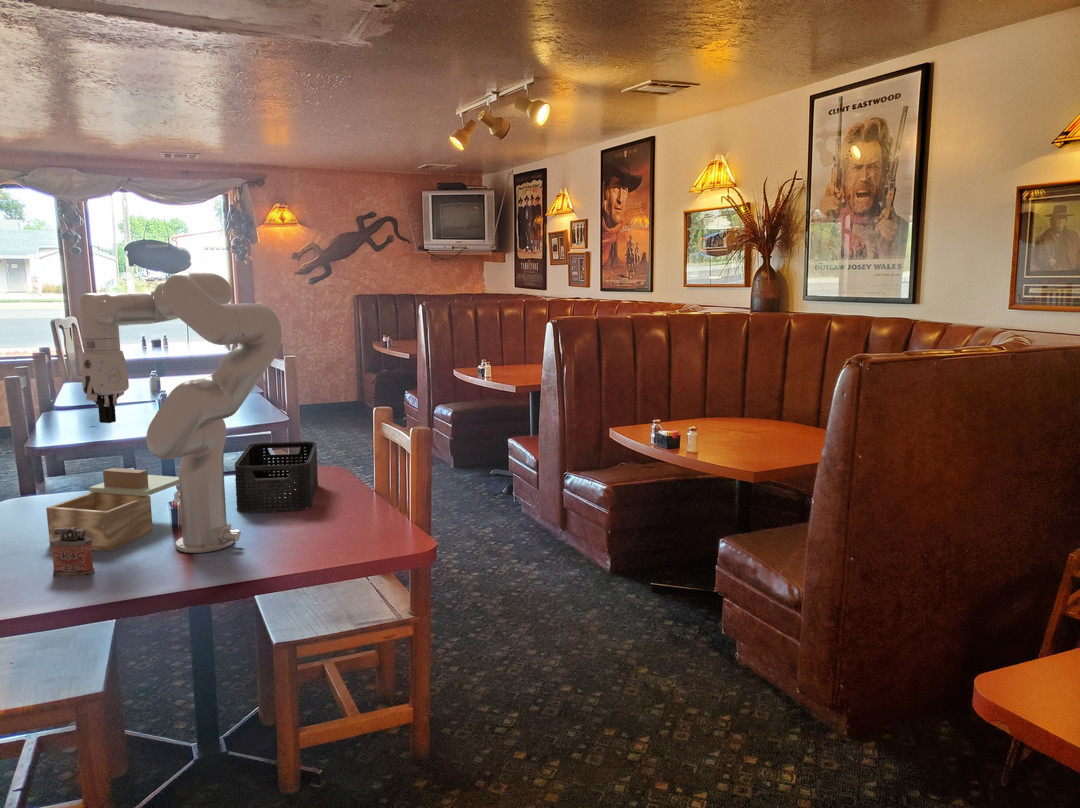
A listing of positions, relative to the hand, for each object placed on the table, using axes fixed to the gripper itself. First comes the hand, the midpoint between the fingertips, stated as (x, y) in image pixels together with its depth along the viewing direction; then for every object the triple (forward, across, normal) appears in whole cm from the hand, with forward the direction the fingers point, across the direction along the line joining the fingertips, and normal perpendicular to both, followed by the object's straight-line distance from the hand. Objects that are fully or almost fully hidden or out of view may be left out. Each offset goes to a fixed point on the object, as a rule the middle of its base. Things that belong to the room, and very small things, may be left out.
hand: (107, 422), depth 184 cm
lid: (+18, +7, -2) cm, 19 cm away
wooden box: (+27, -6, -2) cm, 28 cm away
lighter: (+27, -27, -12) cm, 40 cm away
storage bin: (+27, +35, -24) cm, 51 cm away
